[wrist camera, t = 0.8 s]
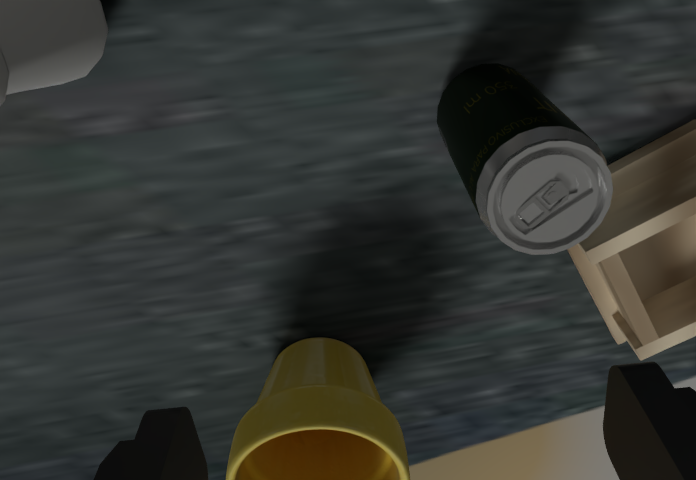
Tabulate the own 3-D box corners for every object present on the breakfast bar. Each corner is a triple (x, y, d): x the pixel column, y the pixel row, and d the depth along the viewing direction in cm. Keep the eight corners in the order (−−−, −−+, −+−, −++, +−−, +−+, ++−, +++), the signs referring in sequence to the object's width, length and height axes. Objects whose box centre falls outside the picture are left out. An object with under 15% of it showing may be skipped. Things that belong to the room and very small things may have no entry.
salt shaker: (86, -65, 31) (-56, -40, 19) (140, 51, 33) (43, 133, 22) (-21, -25, 31) (-221, 21, 20) (40, 85, 34) (-106, 182, 23)
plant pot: (329, 450, 48) (330, 573, 39) (214, 384, 44) (188, 502, 36) (424, 366, 44) (449, 481, 35) (308, 286, 41) (303, 392, 32)
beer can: (477, 172, 37) (537, 282, 27) (414, 110, 35) (452, 203, 25) (551, 107, 35) (646, 197, 25) (488, 38, 33) (563, 104, 23)
